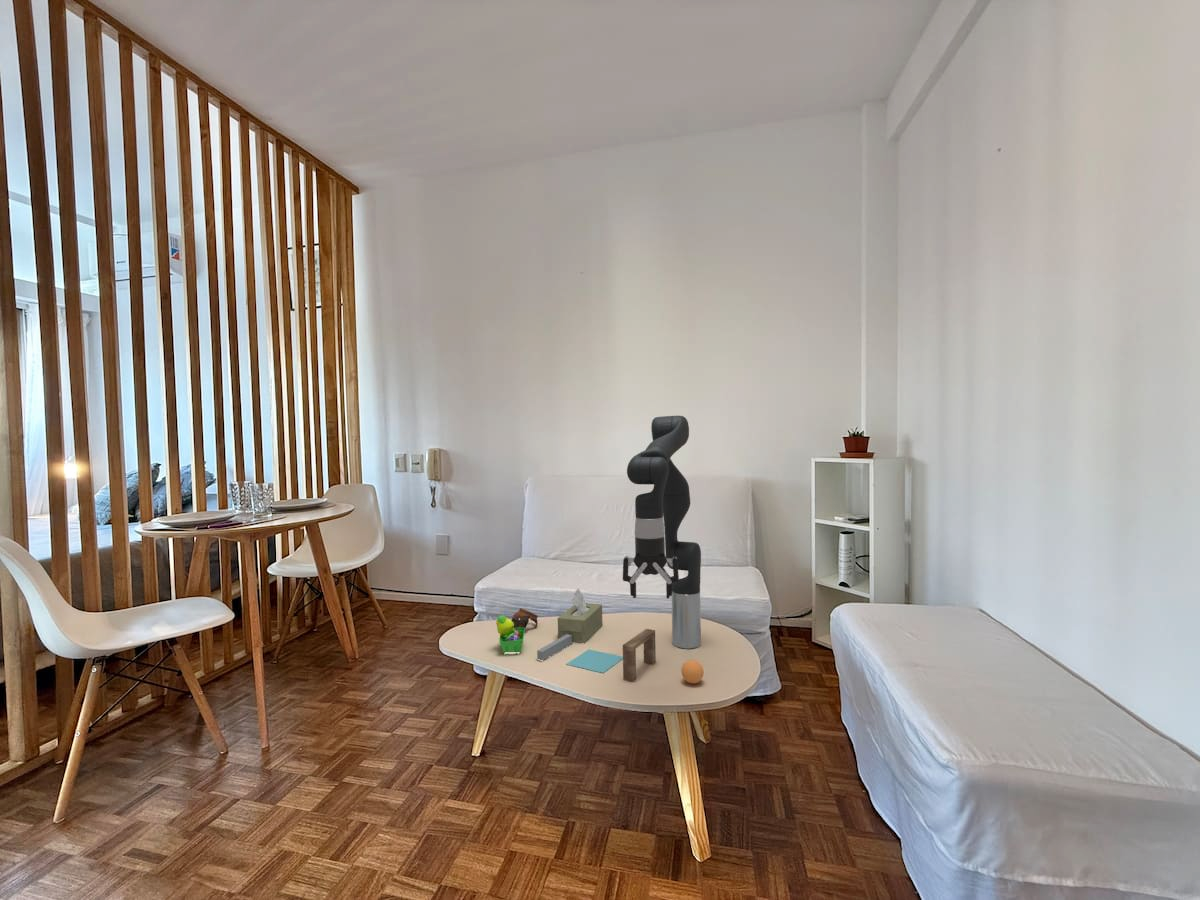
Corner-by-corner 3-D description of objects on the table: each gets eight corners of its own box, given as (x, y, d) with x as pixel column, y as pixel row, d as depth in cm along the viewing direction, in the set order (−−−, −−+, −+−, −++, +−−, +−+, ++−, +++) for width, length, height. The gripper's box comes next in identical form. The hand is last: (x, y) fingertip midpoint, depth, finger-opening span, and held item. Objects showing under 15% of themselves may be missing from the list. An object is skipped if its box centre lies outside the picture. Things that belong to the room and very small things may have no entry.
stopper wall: (566, 643, 178) (566, 634, 178) (571, 644, 177) (571, 635, 177) (537, 660, 164) (537, 650, 164) (542, 661, 163) (542, 651, 163)
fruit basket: (523, 655, 168) (523, 619, 168) (495, 657, 167) (494, 621, 167) (525, 642, 179) (524, 608, 179) (498, 644, 178) (497, 610, 178)
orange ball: (686, 676, 151) (686, 654, 151) (706, 680, 148) (706, 658, 148) (678, 684, 146) (677, 662, 146) (699, 689, 143) (698, 666, 143)
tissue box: (577, 623, 198) (576, 580, 197) (602, 626, 194) (602, 582, 194) (557, 641, 180) (556, 594, 180) (584, 644, 177) (583, 596, 176)
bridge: (623, 679, 149) (622, 645, 149) (646, 660, 162) (646, 628, 162) (632, 682, 148) (632, 647, 148) (655, 662, 161) (655, 630, 161)
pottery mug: (507, 627, 196) (516, 605, 198) (530, 638, 196) (540, 616, 199) (507, 629, 184) (518, 606, 187) (533, 640, 185) (543, 617, 188)
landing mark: (588, 649, 172) (588, 649, 172) (624, 657, 165) (624, 656, 165) (565, 664, 160) (565, 664, 160) (603, 673, 154) (603, 672, 154)
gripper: (677, 532, 140) (679, 593, 141) (623, 532, 142) (624, 592, 143) (677, 537, 133) (679, 602, 133) (620, 537, 135) (622, 601, 135)
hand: (651, 597), depth 138 cm, fingers open, 8 cm apart
